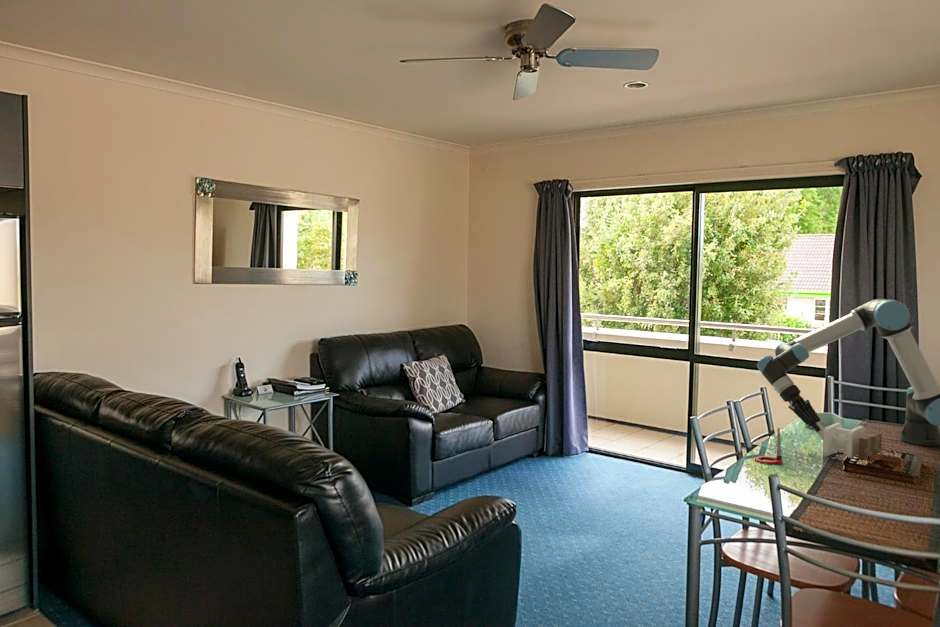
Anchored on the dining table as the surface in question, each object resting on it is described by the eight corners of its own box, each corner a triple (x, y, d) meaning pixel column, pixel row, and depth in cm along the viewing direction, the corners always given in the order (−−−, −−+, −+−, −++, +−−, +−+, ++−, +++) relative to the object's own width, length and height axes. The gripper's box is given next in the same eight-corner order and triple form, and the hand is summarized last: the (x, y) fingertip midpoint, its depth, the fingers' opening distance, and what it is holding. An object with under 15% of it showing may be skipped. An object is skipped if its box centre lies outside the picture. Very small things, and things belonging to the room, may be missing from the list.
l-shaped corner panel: (804, 428, 313) (805, 412, 312) (832, 429, 311) (833, 413, 310) (814, 434, 301) (814, 417, 300) (843, 435, 299) (843, 418, 298)
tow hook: (756, 464, 254) (783, 465, 251) (755, 430, 253) (782, 430, 251) (753, 458, 262) (779, 459, 259) (752, 425, 261) (779, 425, 259)
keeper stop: (845, 452, 270) (846, 427, 269) (880, 460, 260) (881, 433, 259) (827, 458, 262) (828, 432, 261) (863, 466, 251) (865, 439, 250)
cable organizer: (851, 462, 255) (852, 432, 254) (821, 456, 263) (822, 427, 262) (864, 455, 265) (866, 425, 265) (835, 449, 273) (836, 421, 272)
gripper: (788, 393, 287) (827, 440, 275) (771, 396, 279) (810, 445, 267) (801, 382, 282) (841, 430, 270) (784, 385, 275) (825, 434, 262)
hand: (826, 437), depth 269 cm, fingers closed
